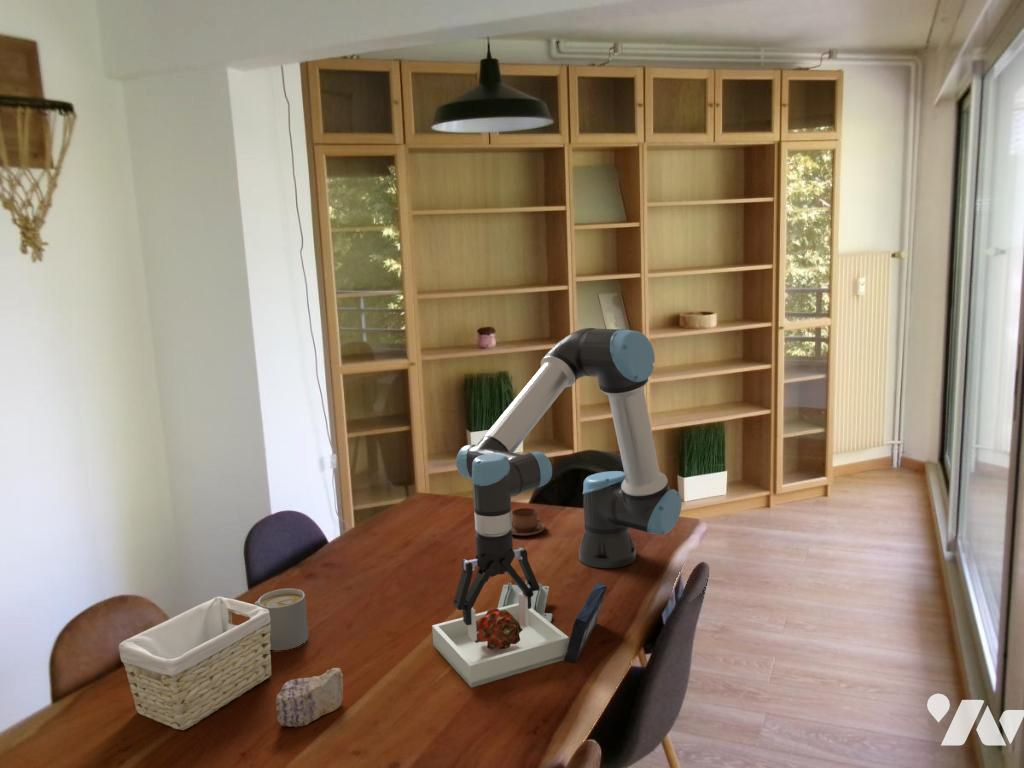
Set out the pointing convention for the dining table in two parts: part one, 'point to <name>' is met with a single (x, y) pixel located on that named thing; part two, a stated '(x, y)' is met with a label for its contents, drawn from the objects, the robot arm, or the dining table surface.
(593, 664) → the dining table surface
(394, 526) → the dining table surface
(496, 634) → the dragon fruit
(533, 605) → the metal bracket
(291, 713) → the mineral specimen
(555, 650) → the tray
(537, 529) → the cup and saucer
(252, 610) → the storage basket
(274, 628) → the coffee mug
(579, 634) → the vhs cassette tape
